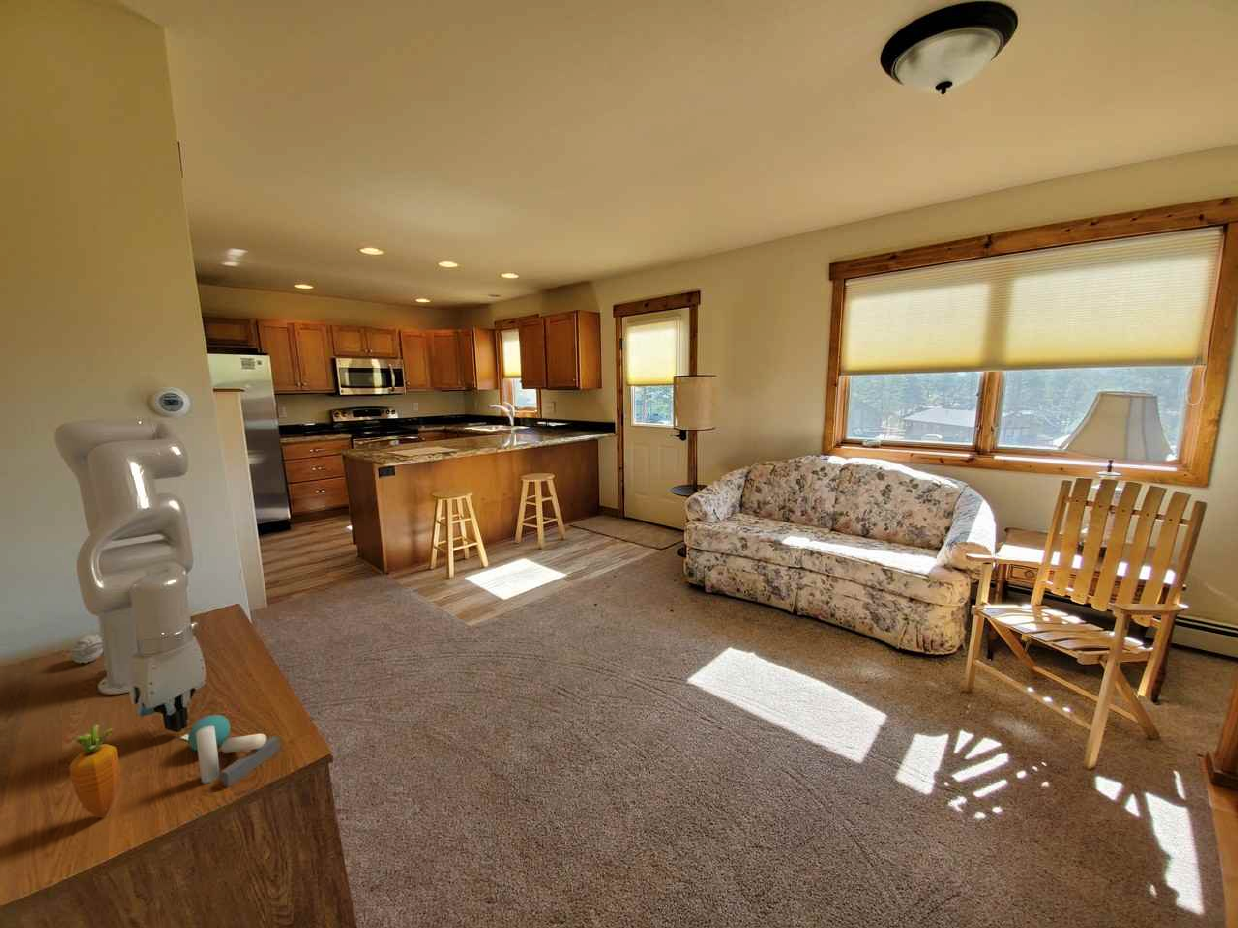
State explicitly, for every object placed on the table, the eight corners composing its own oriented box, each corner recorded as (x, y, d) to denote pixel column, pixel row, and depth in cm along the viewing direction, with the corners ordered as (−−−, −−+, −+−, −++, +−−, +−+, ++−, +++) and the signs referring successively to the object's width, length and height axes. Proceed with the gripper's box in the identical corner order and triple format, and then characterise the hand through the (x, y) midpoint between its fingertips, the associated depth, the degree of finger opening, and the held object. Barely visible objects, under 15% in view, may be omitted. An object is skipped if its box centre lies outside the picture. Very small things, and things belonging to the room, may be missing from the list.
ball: (206, 751, 85) (195, 764, 87) (242, 727, 91) (230, 740, 93) (186, 724, 86) (175, 738, 88) (223, 702, 91) (212, 716, 93)
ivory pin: (218, 744, 88) (249, 739, 84) (232, 735, 90) (262, 730, 87) (224, 756, 88) (254, 752, 85) (237, 746, 90) (268, 742, 87)
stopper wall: (222, 784, 81) (220, 771, 81) (274, 747, 90) (272, 735, 89) (228, 786, 81) (227, 773, 80) (280, 749, 89) (278, 737, 89)
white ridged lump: (82, 671, 114) (77, 643, 113) (63, 666, 116) (58, 639, 115) (114, 658, 120) (110, 631, 119) (96, 653, 122) (92, 627, 121)
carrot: (101, 804, 77) (87, 719, 75) (134, 802, 78) (122, 717, 75) (69, 832, 72) (53, 742, 70) (105, 830, 73) (90, 740, 71)
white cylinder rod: (198, 781, 82) (192, 733, 81) (213, 770, 84) (207, 724, 83) (208, 784, 81) (202, 736, 80) (223, 774, 84) (217, 727, 82)
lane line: (180, 738, 92) (180, 737, 92) (186, 734, 93) (186, 733, 93) (213, 748, 89) (213, 747, 89) (219, 744, 90) (219, 743, 90)
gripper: (195, 619, 98) (206, 701, 101) (100, 656, 84) (114, 750, 87) (222, 624, 96) (231, 708, 99) (128, 663, 82) (142, 760, 85)
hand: (177, 727), depth 93 cm, fingers closed
